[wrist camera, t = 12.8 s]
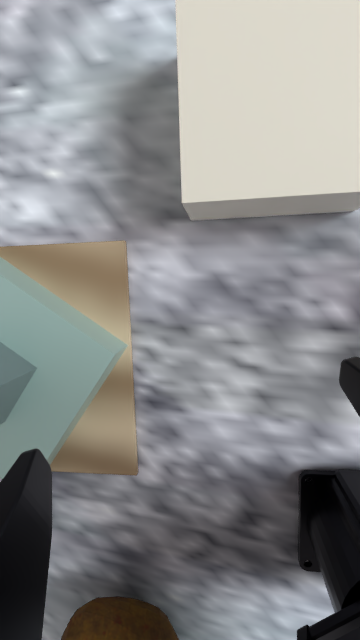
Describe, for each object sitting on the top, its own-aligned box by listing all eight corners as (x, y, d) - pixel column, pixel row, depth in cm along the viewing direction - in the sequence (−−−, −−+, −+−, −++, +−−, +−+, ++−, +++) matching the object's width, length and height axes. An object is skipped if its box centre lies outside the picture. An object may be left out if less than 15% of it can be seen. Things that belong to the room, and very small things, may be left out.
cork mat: (138, 471, 22) (136, 475, 21) (-64, 462, 23) (-69, 465, 23) (126, 241, 20) (124, 240, 19) (-92, 252, 22) (-97, 251, 21)
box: (353, 211, 18) (396, 189, 13) (191, 220, 19) (181, 203, 15) (359, 31, 17) (408, -57, 12) (186, 53, 18) (174, -20, 14)
